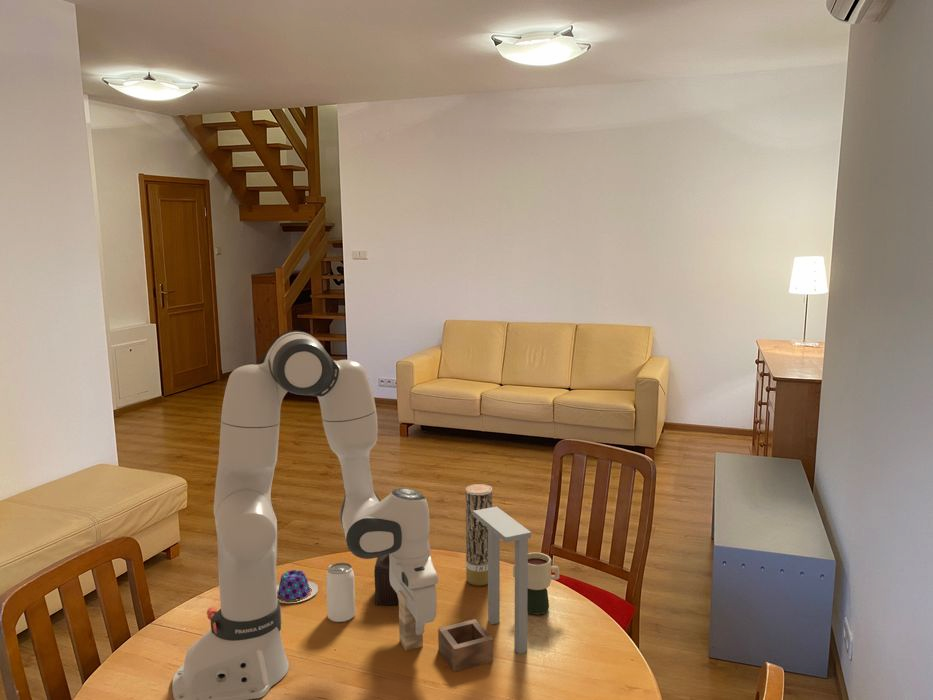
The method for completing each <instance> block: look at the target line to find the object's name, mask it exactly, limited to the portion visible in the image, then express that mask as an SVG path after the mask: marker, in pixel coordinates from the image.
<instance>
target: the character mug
mask: <svg viewBox="0 0 933 700" xmlns="http://www.w3.org/2000/svg"><path fill="white" fill-rule="evenodd" d="M552 571H554V574H552ZM512 576H513V578H514V579H515V564H514V565H513V568H512ZM559 579H560V567H559V566H557V565H552V558H551V556H549V555H548V554H545V553H542V552H529V553H528V591H527V613H529V614H532V615H541V614H544V613H546V612H547V611H548V610H549V608H550V602H549V601H550V600H549V595H548V593H549V592H548V589H547V588H549V587H550V584H551V582H552V580H559Z"/></svg>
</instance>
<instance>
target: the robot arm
mask: <svg viewBox="0 0 933 700" xmlns="http://www.w3.org/2000/svg"><path fill="white" fill-rule="evenodd" d="M228 376H229V377H228V379H227V383H226V387H225V390H224V395H223V396H224V397H223V401H222V408H221V414H220V415H221V416H220V431H219V446H218V447H219V450H218V460H217V461H218V464H217V470H216V478H215V488H214V500H213V517H214V521H215V530H216V540H217V542H216V543H217V561H218V564H217V566H218V585H219V586H218V587H219V588H218V589H219V602H220V605H219V606H220V608H219V610H218V609H217V608H216V607H215V606H210V607H209V608H208V609H207V610H206V615H207V616H206V617H207V619H208V620H209V621H210V629H209V630H208V631H206V633H204V634H203V635H202V636H201V637H200V638H199V639H197V640H196V641H195V642H194V643H193V644H191V645H190V647H189V648H188V650H187V652H186V655H185V658H184V662H183V663H184V664H183V665H181V666H180V667H179V668H178V669H177V670H176V672H175V673H174V675H173V677H172V684H171V691H172V697H173V700H253V699H254V700H255V699H260V698H263V697H265V695H266V694H267V693H268V692H269V691H270V689H271V688H272V687H273V686H274V685H276V684H277V683H278V682H280V681H281V680H282V679H283V678H284V677H285V676H286V675H287V673H288V672H289V668H290V662H289V660H288V657H287V654H286V652H285V649H284V648H285V647H284V644H283V640H282V633H281V630H282V610H281V609H282V608H281V604H280V602H279V601H278V599H277V597H278V593H277V585H278V583H277V582H278V581H277V579H278V578H277V556H278V553H277V552H278V520H277V517H276V513H275V512H274V508H273V505H272V499H271V498H272V497H271V496H272V495H271V493H272V485H273V479H274V474H275V473H274V472H275V470H276V469H275V468H276V465H277V462H278V455H279V453H278V452H279V437H280V425H281V424H280V423H281V408H282V405H283V404H282V402H283V400H284V397H285V396H286V395H287V393H288V392H289V393H291V394H294V395H299V396H300V395H301V396H311V397H317V400H318V402H319V403H318V404H319V407H320V412H321V421H322V426H323V430H324V434H325V437H326V440H327V443H328V445H329V448H330V450H331V451H332V452H333V453H334V454H335V456H336V457H337V458H338V460H339V464H340V468H341V469H340V470H341V475H342V482H343V488H344V497H343V501H342V505H341V508H340V512H339V513H340V514H339V519H340V524H341V526H342V528H343V533H344V537H345V541H346V546H347V548H348V550H349V551H350V552H351V554H353V556H355V557H357V558H359V559H362V560H363V559H364V560H371V559H375V558H376V559H377V557H381V556H384V555H388V554H389V559H390V566H389V580H390V584H391V586H392V588H393V589H394V590H395V592H396V593H397V596H398V600H399V592H398V590H400V591H401V592H402V593H403V595H404V596H405V597H406V606H407V608H408V610H409V611H410V612H411V614H412V615H413V617H414V618H415V620H416V624H414V631H415V632H416V634H417V635H420V634H423V635H424V634H425V625H426V624H429V623H432V622H434V621H435V619H436V616H437V588H436V585H437V584H438V583H439V575H438V573H437V571H436V568H435V566H434V563H433V559H432V557H431V546H430V542H429V535H430V531H431V526H430V524H431V523H430V511H429V505H428V501H427V498H426V497H425V495H424V494H423V493H421V492H420V491H418V490H415V489H412V488H406V487H403V488H402V487H401V488H396V489H393V490H392V491H391V492H390V493H389V494H387V496H386V497H384V498H383V499H382V500H381V499H380V497H379V496H378V495H377V493H376V491H375V489H374V485H373V483H374V482H373V478H372V470H371V465H370V463H371V461H370V455H371V454H370V453H371V451H372V449H373V448H375V447H374V446H376V444H377V442H378V431H379V430H378V429H379V428H378V427H379V426H378V414H377V408H376V407H377V406H376V401H375V397H374V393H373V389H372V385H371V383H370V380H369V376H368V374H367V371H366V369H365V367H364V366H363V365H362V364H361V363H359V362H357V361H355V360H351V359H340V360H335V359H333V358H332V357H331V356H330V354H329V353H328V352H327V350H326V349H325V348H324V345H322V343H321V342H320V341H319V340H318V339H317V338H316V337H314V336H312V335H311V334H310V333H308V332H305V331H302V330H288V331H286V332H283V333H282V334H280V335H278V336H277V337H276V338H275V339H274V340H273V342H272V343H271V344H270V346H268V349H267V350H266V352H264V355H262V357H261V359H260V362H259V364H245V365H242V366H239V367H237V368H235V369H234V370H233V371H232V372H231V373H230V374H229V375H228Z"/></svg>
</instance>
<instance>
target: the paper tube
mask: <svg viewBox="0 0 933 700" xmlns="http://www.w3.org/2000/svg"><path fill="white" fill-rule="evenodd" d="M491 507H493V486H490V485H488V484H484V483H483V484H482V483H479V484H478V483H476V484H469V485H468V486H466V487H465V569H466V570H465V571H466V572H465V573H466V575H465V579H466V581H467V582H468V583H469V584H470V585H473V586H477V587H480V586H481V587H482V586H486V585H488V528H487V527H486V526H485V525H483V524H482V523H481V522H480V521H479V520H477V519H476V518H475V517H474V516H473V511H474V510H480V509H486V508H491Z"/></svg>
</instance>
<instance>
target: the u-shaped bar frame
mask: <svg viewBox="0 0 933 700" xmlns="http://www.w3.org/2000/svg"><path fill="white" fill-rule="evenodd" d="M473 516H474V517H475V518H476V519H477V520H479V521H480V522H481V523H482V524H483V525H485V526H486V527H487V528H488V584H487V621H488V622H489V624H491V625H497V624H499V623H500V622H501V621H500V611H501V610H500V601H501V599H500V598H501V596H500V595H501V593H500V586H501V583H500V582H501V581H500V579H501V578H500V577H501V576H500V575H501V574H500V572H501V569H500V568H501V567H500V566H501V564H500V562H501V560H500V558H501V557H500V555H501V554H500V552H501V551H500V548H501V547H500V545H501V543H500V542H501V541H503V542H504V543H505V544H506V543H513V542H514V565H515V578H514V637H513V639H514V643H513V644H514V645H513V646H514V647H513V648H514V651H515V652H516V653H517V654H518V655H522V654H526V653H528V612H527V591H528V551H529V550H528V549H529V547H528V546H529V544H528V543H529V539H531V538H532V532H531V531H530V530H529V529H528V528H526V527H525V526H524V525H522V524H521V523H519V522H518V521H517V520H515V519H514V518H512V517H511V516H510V515H509V514H507V513H506V512H505V511H503V509H500V508H499V507H498V506H492V507H491V508H486V509H480V510H474V511H473Z"/></svg>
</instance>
